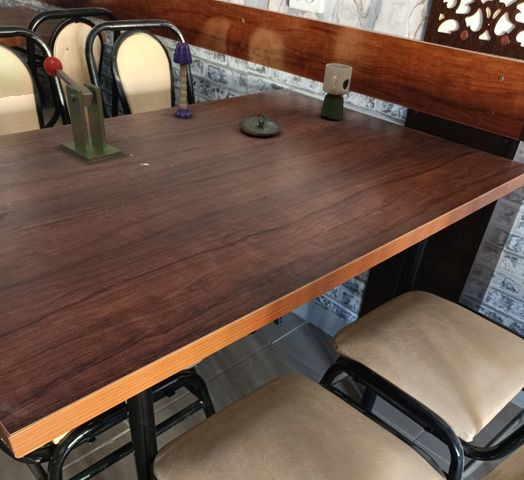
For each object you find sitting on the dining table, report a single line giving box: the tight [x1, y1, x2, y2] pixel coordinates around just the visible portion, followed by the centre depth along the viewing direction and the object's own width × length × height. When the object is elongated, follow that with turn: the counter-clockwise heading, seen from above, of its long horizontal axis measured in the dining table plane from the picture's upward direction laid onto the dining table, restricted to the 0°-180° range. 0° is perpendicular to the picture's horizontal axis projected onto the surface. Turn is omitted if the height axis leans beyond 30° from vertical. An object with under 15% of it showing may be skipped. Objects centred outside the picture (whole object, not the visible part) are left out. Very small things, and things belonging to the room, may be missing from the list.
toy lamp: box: [172, 41, 193, 120], centre depth 126 cm, size 5×5×17 cm
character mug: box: [319, 62, 353, 120], centre depth 137 cm, size 11×7×13 cm, turn 161°
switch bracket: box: [59, 81, 124, 162], centre depth 103 cm, size 11×8×13 cm
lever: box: [43, 56, 93, 107], centre depth 101 cm, size 14×4×4 cm, turn 46°
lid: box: [238, 112, 283, 137], centre depth 125 cm, size 11×10×5 cm
